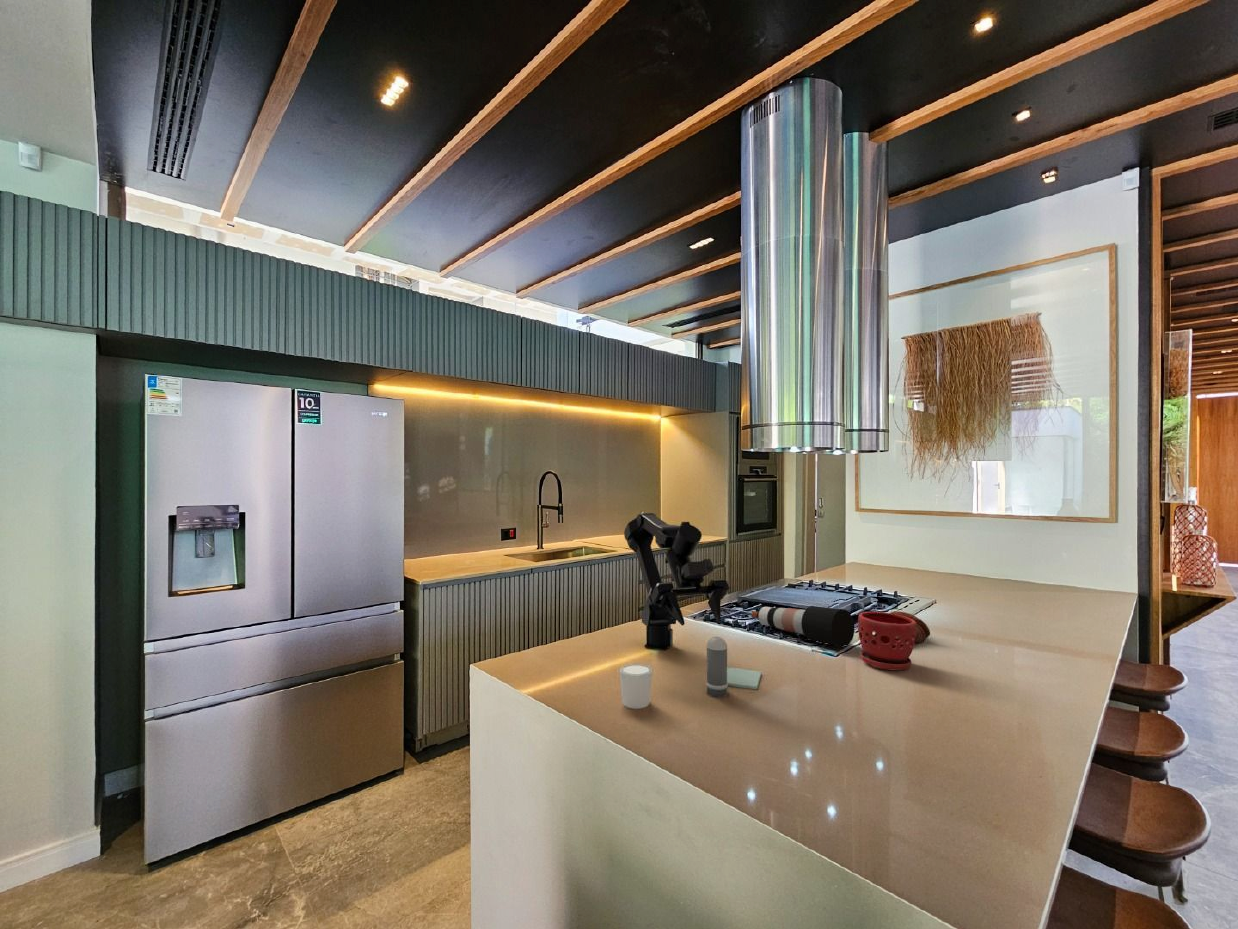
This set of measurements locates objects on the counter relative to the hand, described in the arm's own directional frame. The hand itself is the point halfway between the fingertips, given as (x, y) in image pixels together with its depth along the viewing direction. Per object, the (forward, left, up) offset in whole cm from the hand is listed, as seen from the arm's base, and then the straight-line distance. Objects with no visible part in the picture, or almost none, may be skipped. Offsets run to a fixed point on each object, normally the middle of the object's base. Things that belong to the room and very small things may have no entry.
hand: (701, 622), depth 126 cm
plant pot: (+42, +27, -13) cm, 51 cm away
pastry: (+49, +53, -14) cm, 73 cm away
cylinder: (+5, -6, -13) cm, 15 cm away
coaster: (+8, +4, -13) cm, 16 cm away
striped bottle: (+19, +46, -14) cm, 52 cm away
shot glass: (-10, -17, -13) cm, 24 cm away
